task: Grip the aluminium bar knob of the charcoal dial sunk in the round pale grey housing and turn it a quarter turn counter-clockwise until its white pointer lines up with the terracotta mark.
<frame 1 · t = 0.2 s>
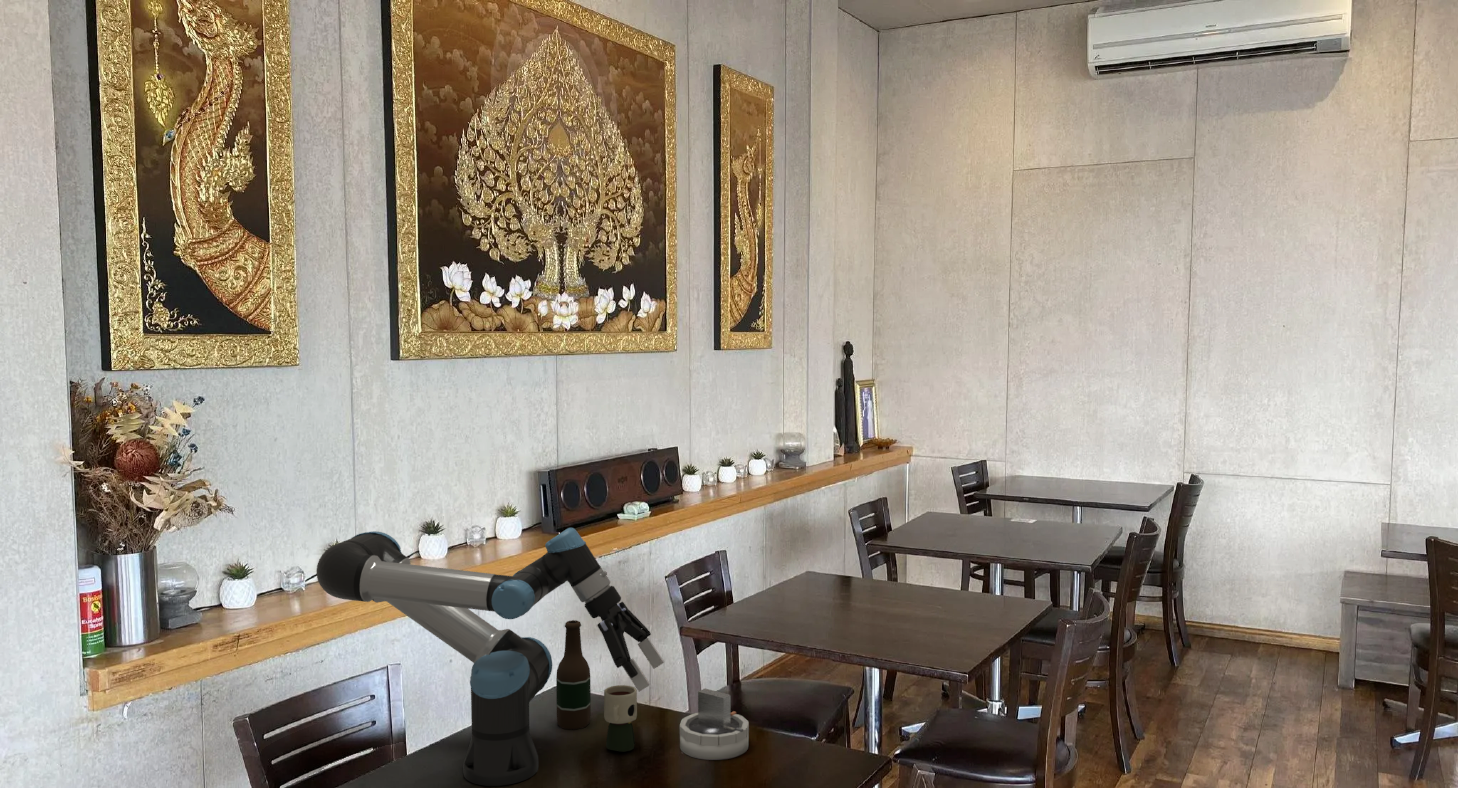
hand: (652, 676, 222), 16 cm above the table, tool tilted 35°, fingers open, 13 cm apart
dial: (714, 712, 226), point 8 cm above the table, hinge at 0.0°
beer bottle: (573, 724, 239), on the table
housing: (714, 745, 226), on the table
character mug: (620, 749, 225), on the table
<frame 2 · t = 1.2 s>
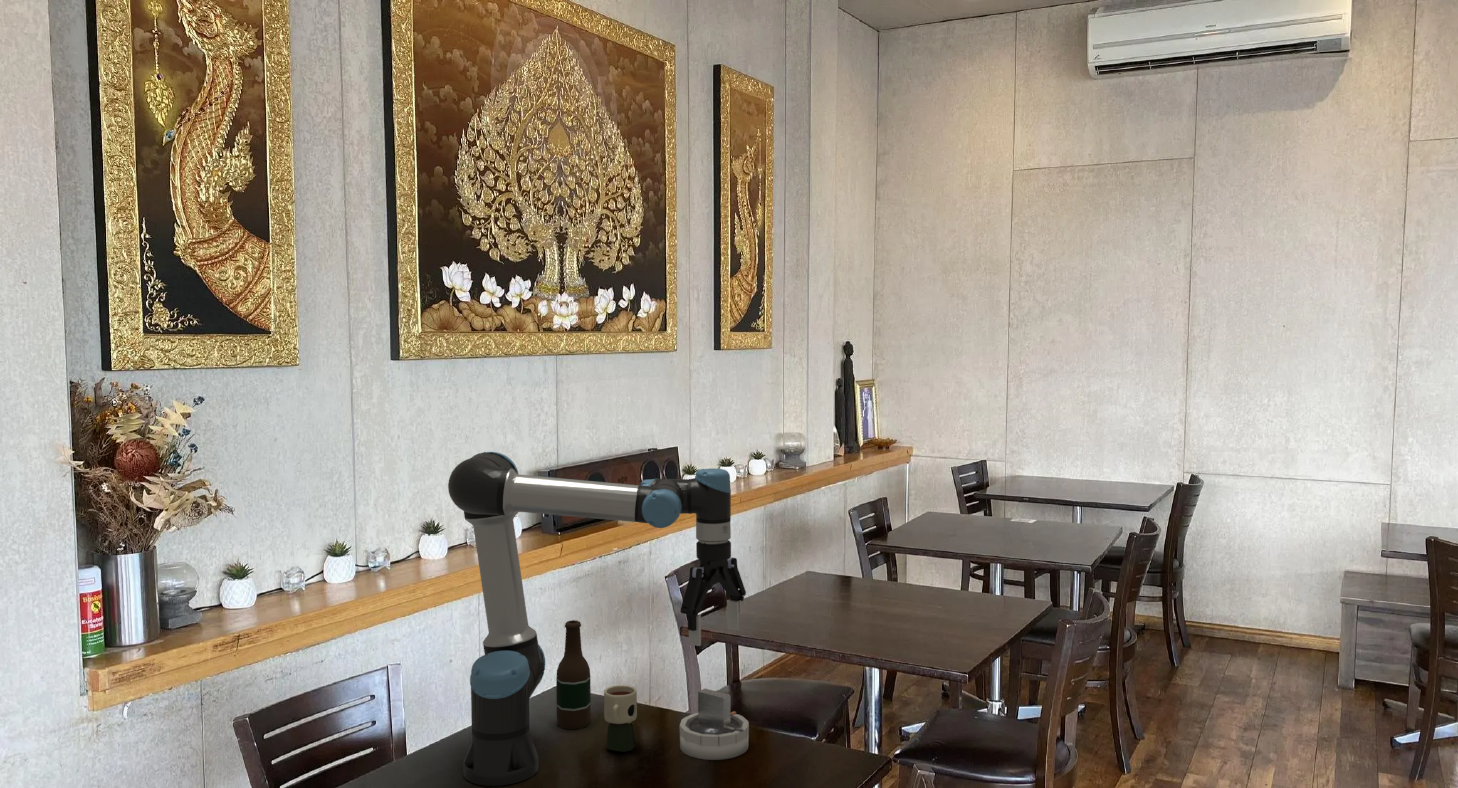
hand: (714, 637, 225), 24 cm above the table, tool pointing down, fingers open, 13 cm apart
nothing on the table moved.
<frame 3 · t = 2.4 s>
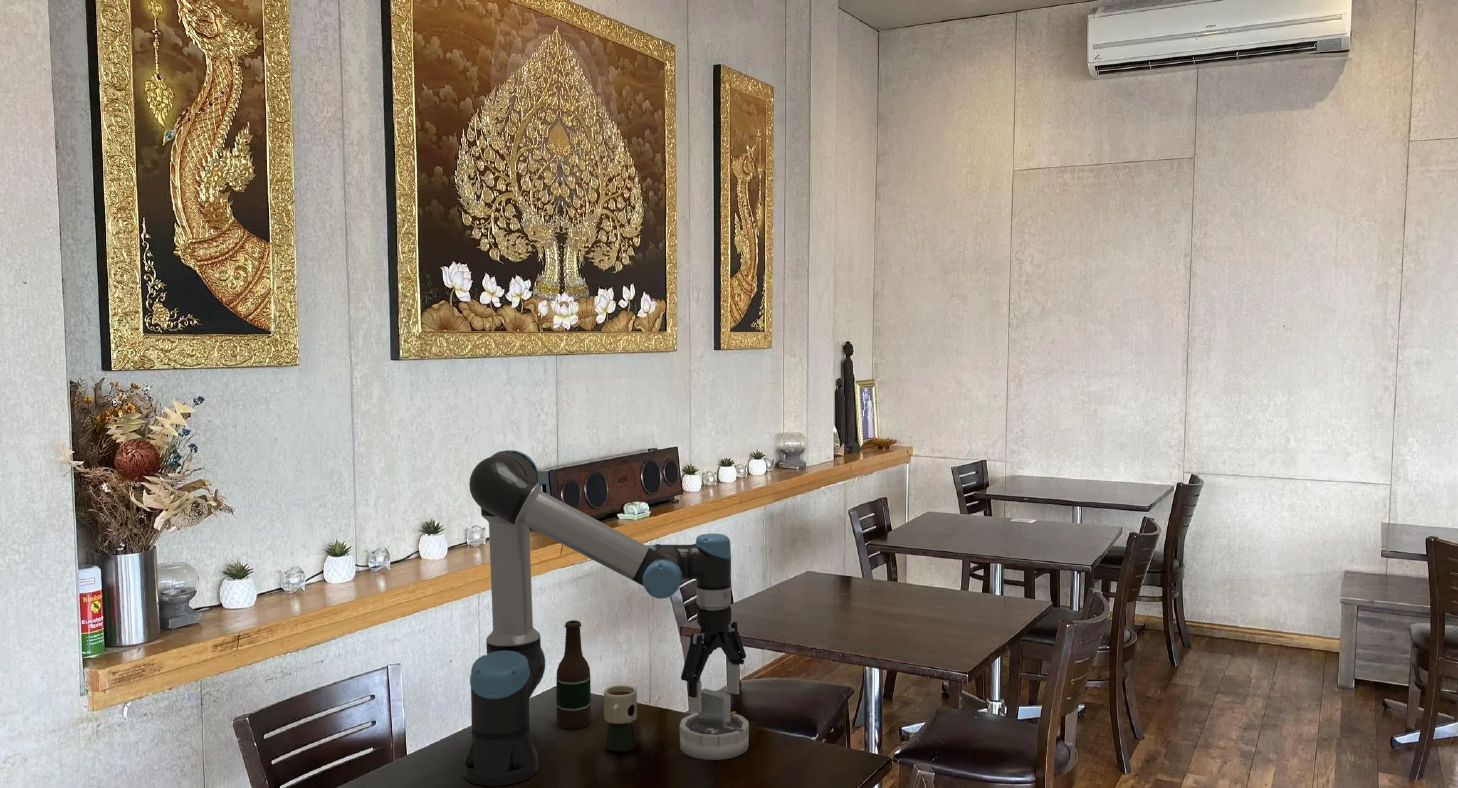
hand: (714, 701, 226), 10 cm above the table, tool pointing down, fingers open, 13 cm apart
nothing on the table moved.
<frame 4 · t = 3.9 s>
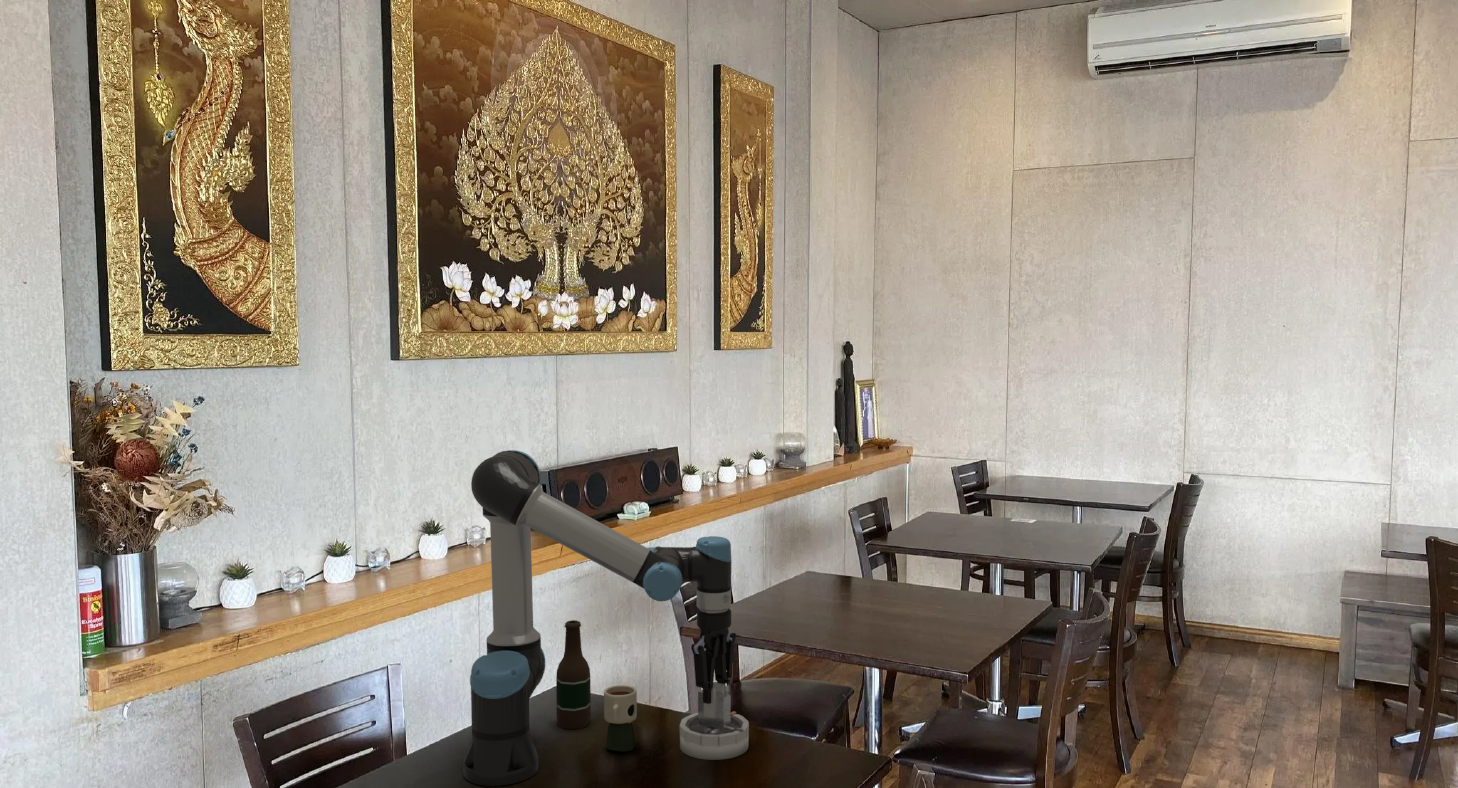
hand: (714, 714, 226), 7 cm above the table, tool pointing down, fingers closed on dial, 2 cm apart
dial: (714, 712, 226), point 8 cm above the table, hinge at 0.0°, touching gripper
everything else where it was.
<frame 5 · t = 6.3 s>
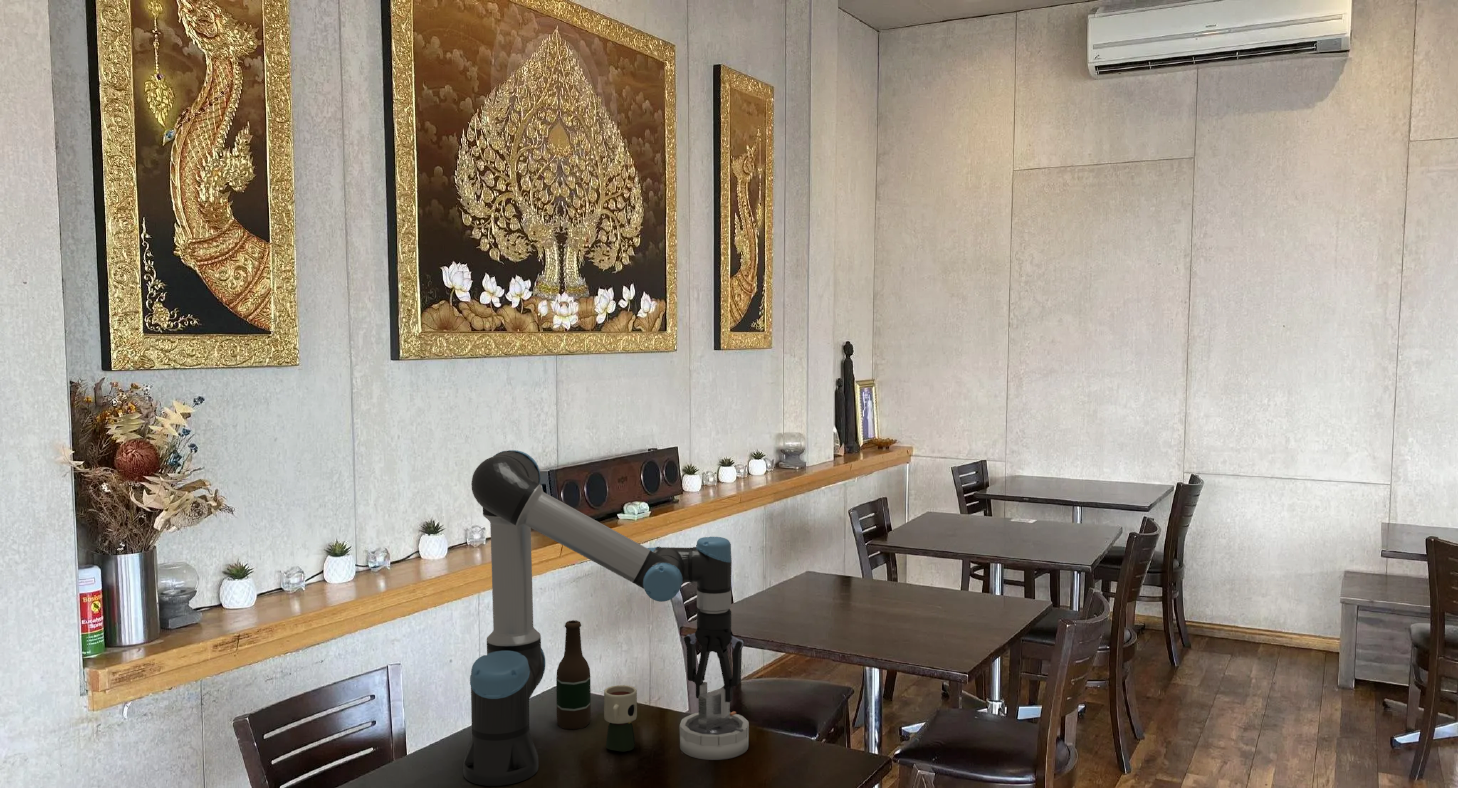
hand: (714, 714, 226), 7 cm above the table, tool pointing down, fingers closed on dial, 4 cm apart
dial: (714, 712, 226), point 8 cm above the table, hinge at 81.0°, touching gripper
everything else where it was.
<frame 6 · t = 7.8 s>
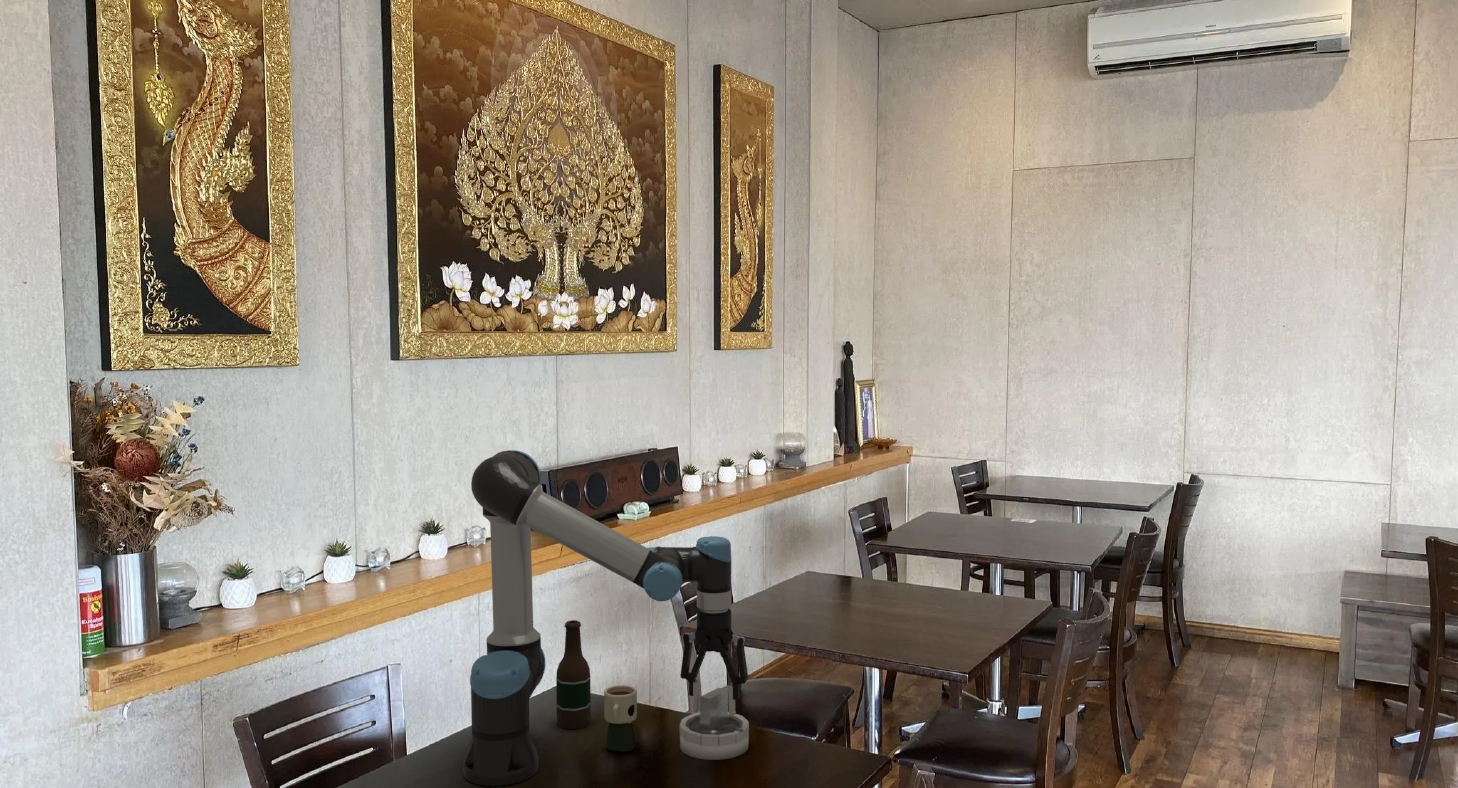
hand: (714, 711, 226), 8 cm above the table, tool pointing down, fingers open, 7 cm apart
dial: (714, 712, 226), point 8 cm above the table, hinge at 92.4°
everything else where it was.
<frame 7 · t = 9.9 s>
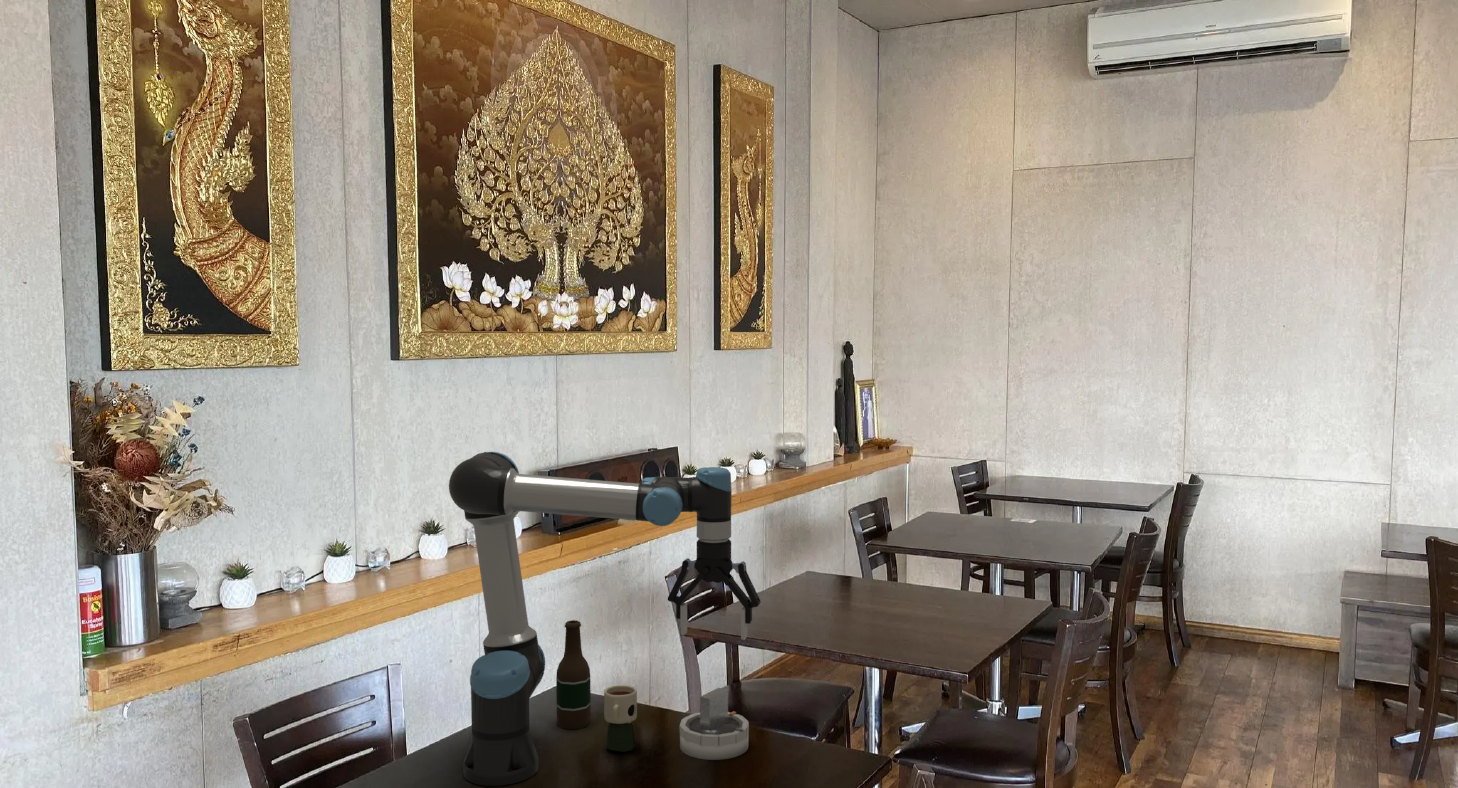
hand: (713, 635, 225), 24 cm above the table, tool pointing down, fingers open, 13 cm apart
nothing on the table moved.
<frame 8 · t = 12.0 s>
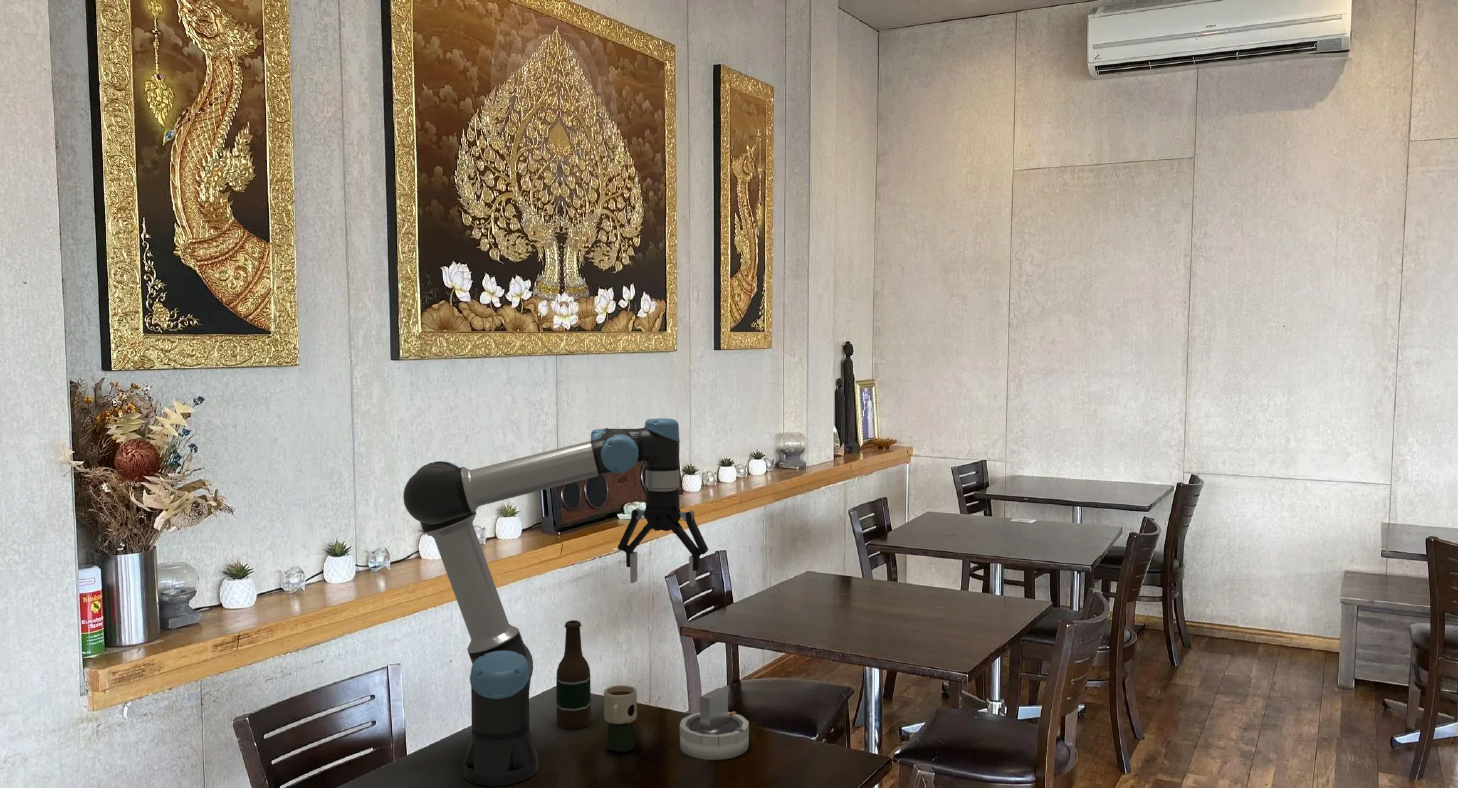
hand: (662, 583, 230), 35 cm above the table, tool pointing down, fingers open, 13 cm apart
nothing on the table moved.
at the end: dial at +92° (first picture: +0°); character mug moved 0.2 cm from its start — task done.
